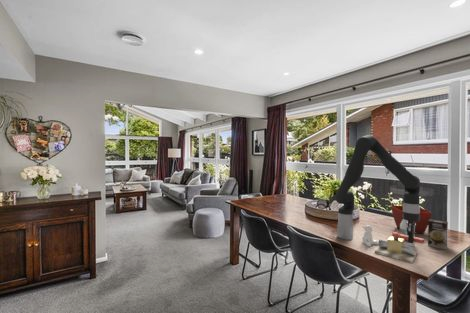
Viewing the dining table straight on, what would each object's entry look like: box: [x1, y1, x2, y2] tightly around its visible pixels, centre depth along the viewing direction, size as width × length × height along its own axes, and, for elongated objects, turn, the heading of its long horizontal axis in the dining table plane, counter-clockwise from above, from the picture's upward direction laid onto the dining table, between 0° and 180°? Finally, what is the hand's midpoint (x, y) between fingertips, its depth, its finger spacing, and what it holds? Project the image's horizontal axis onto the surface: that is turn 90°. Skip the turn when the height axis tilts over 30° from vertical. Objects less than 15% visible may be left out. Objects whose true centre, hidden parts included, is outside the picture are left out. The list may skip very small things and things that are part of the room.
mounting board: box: [374, 246, 419, 264], centre depth 136 cm, size 18×16×2 cm
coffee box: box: [427, 218, 449, 250], centre depth 146 cm, size 9×6×16 cm
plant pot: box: [390, 205, 432, 234], centre depth 176 cm, size 19×19×17 cm
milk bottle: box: [399, 219, 416, 248], centre depth 148 cm, size 8×8×20 cm
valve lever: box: [391, 231, 425, 245], centre depth 132 cm, size 15×4×3 cm, turn 36°
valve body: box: [377, 236, 416, 256], centre depth 136 cm, size 17×7×7 cm, turn 44°
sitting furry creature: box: [362, 224, 379, 247], centre depth 151 cm, size 10×9×12 cm
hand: (410, 242), depth 127 cm, fingers closed
